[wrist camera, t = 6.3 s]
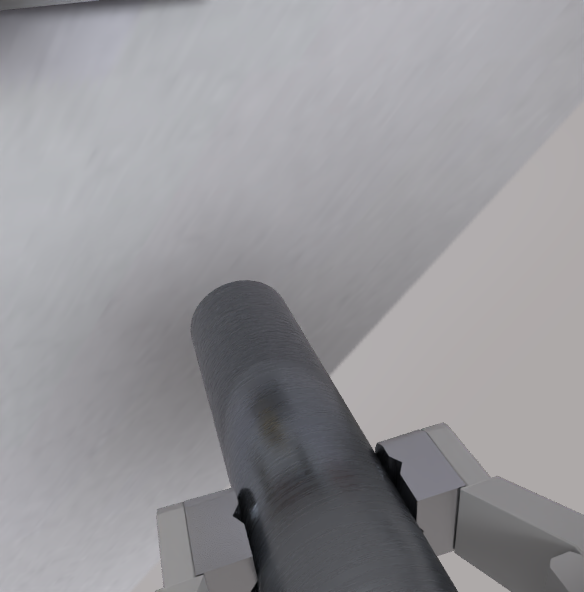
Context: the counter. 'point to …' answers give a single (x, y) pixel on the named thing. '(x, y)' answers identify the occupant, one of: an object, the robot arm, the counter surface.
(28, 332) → the counter surface
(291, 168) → the counter surface
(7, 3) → the mounting board
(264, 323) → the hinge pin
